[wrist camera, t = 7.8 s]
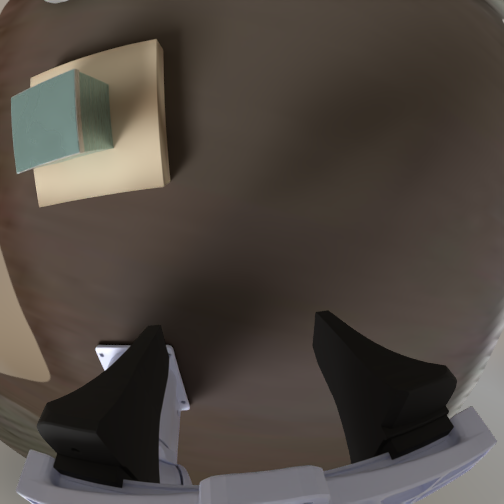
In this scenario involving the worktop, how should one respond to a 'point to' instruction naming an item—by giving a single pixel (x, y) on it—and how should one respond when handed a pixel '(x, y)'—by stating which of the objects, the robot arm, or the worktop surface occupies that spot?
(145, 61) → the beige square slab
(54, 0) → the can
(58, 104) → the tin
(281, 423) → the worktop surface
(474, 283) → the worktop surface
